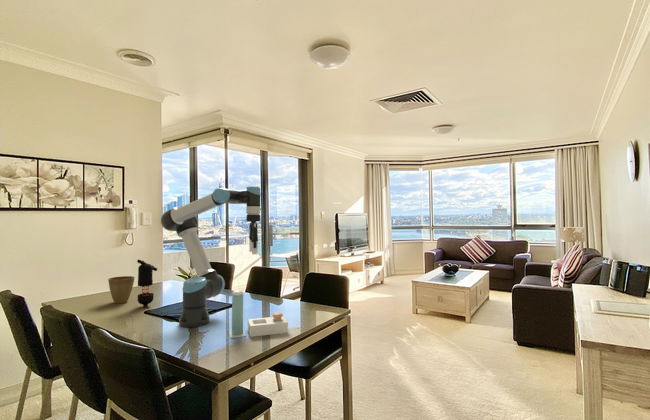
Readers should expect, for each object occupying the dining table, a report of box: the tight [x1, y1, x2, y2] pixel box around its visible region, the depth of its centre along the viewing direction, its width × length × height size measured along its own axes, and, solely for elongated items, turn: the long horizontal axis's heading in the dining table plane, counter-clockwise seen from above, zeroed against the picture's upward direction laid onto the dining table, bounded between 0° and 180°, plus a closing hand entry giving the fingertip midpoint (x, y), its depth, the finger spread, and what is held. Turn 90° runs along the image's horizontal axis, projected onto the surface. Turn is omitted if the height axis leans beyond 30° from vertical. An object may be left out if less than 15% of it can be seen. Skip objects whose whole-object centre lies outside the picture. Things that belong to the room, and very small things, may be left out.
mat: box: [229, 329, 246, 339], centre depth 160 cm, size 7×9×1 cm
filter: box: [136, 259, 158, 308], centre depth 210 cm, size 14×9×30 cm
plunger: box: [272, 312, 284, 322], centre depth 166 cm, size 5×5×4 cm
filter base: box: [247, 316, 289, 338], centre depth 165 cm, size 18×11×5 cm, turn 109°
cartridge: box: [231, 290, 244, 335], centre depth 160 cm, size 5×5×20 cm
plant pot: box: [107, 275, 135, 304], centre depth 219 cm, size 15×15×16 cm
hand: (253, 253), depth 182 cm, fingers open, 13 cm apart
